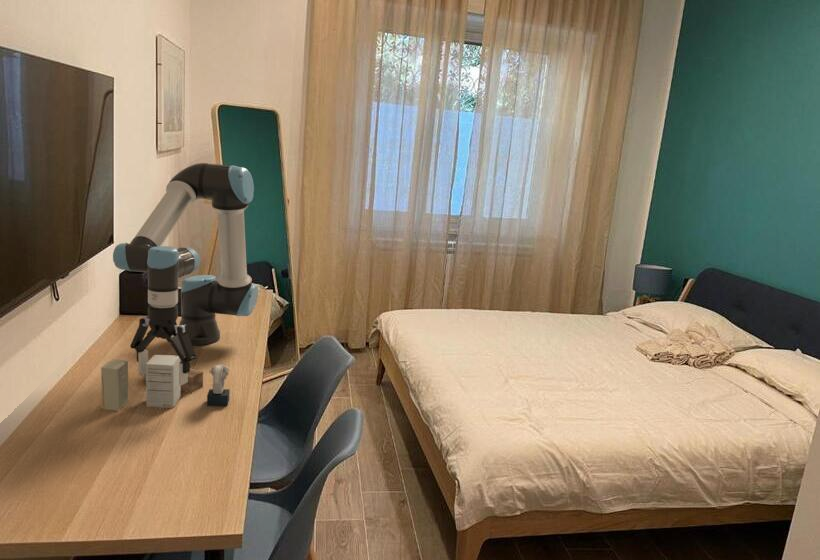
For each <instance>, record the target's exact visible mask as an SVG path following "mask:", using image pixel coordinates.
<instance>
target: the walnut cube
mask: <svg viewBox="0 0 820 560" xmlns="http://www.w3.org/2000/svg"><path fill="white" fill-rule="evenodd" d="M180 387H181V392H186V391H187V392H186V393H191V394H192V392H193V393H194V392H196V391H198V390H200V389H201V388H202V389H203V388H204V371H201V370H198V369H195V368H190V371H189V372H188V382H187V383H185V384H183V385H180Z"/></svg>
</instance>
